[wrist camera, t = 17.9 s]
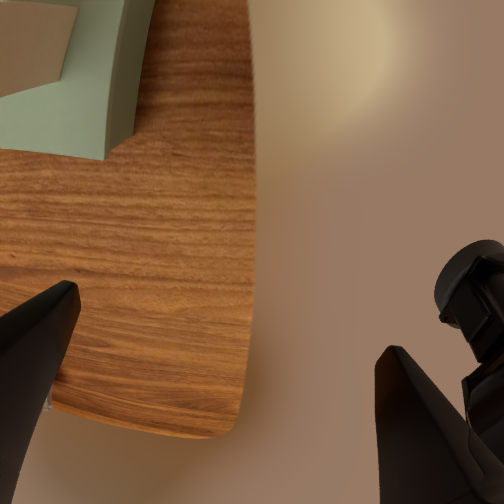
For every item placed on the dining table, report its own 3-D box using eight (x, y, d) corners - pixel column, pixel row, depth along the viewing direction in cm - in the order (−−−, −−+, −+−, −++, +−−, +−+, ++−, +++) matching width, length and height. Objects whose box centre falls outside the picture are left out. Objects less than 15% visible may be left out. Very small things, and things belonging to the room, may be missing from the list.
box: (166, -30, 13) (138, -51, 9) (136, 138, 18) (104, 161, 15) (10, -10, 12) (-31, -11, 8) (-3, 126, 18) (-42, 145, 14)
